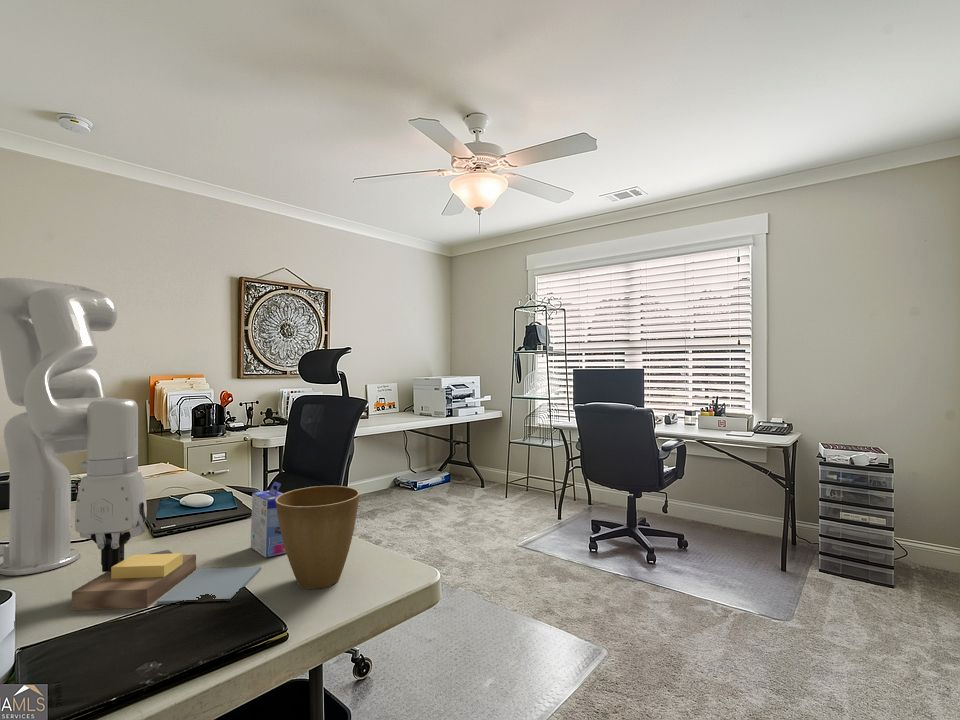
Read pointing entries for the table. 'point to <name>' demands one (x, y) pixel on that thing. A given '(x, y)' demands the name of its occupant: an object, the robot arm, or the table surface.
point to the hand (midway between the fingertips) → (112, 568)
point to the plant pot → (317, 531)
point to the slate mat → (211, 584)
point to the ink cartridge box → (266, 523)
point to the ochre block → (147, 565)
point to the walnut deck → (129, 589)
